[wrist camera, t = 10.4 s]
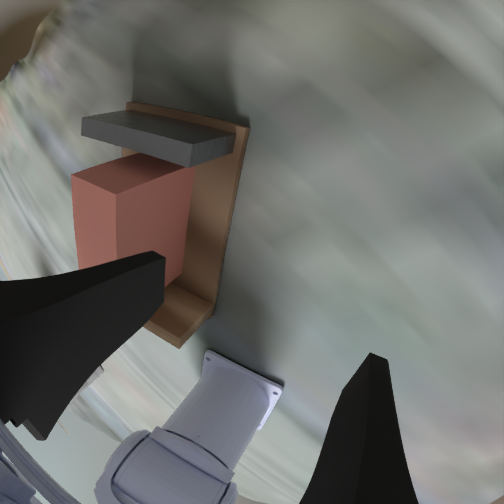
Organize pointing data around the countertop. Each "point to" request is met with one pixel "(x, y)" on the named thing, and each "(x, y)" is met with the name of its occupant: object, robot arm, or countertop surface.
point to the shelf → (199, 233)
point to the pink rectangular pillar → (132, 211)
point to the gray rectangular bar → (160, 136)
